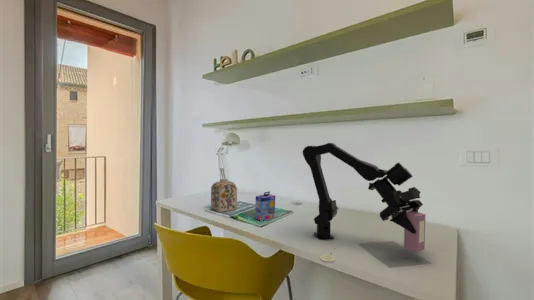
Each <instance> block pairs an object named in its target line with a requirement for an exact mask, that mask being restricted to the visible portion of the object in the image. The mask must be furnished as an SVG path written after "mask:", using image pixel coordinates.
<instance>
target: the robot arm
mask: <svg viewBox="0 0 534 300" xmlns="http://www.w3.org/2000/svg"><path fill="white" fill-rule="evenodd" d="M325 154H330V155H332V156H333V157H335V158H336V159H339V160H340V161H341V162H343V163H344V164H346V165H348V166H349V167H351V168H353V169H354V170H355V172H356V173H357V174H358V175H360V176H361V177H362V178H363V179H364V180H366V181H368V182H369V183H368V188H367V189H368V190H369V191H374V190H376V192H377V193H378V195H379V197H381V198H382V199H381V202H382V203H383V204H384V203H385V204H386V205H387V206H386V207H385V208H383V210H382V211H380V212H379V218H380V219H381V220H382V221H383V222H386V221H388V220H389V222H392V223H395V224H396V225H398V226H400V227H402V228H403V229H404V228H405V229H406V230H408V231H410V232H411V233H413V234H415V233H416V230H415V229H414V227H413V226H412V224H411V222H410V221H409V219H408V218H407V212H410V211H414V212H418V213H419V209H420V208H421V207H422V206H423V205H424V204H423V203H422V202H421V200H420V199H421V191H420V190H419V189H418V188H416V186H413V187H410V188H408V190H406V191H402V190H397V189H396V188H395V187H394V186H396V185H398V186H399V187H400V186H401V185H403V184H404V183H406V182H407V181H408V180H410V179H411V178H413V174H412V173H411V172H410V171H409V170H408V169H407V168H406V167H404V166H403V165H402V164H401V163H400V162H398V161H397V162H396V163H395V164H394V166H392V167H391V168H390V169H388V170H387V169H381V168H379V167H378V166H377V165H376V164H375V165H374V164H372V163H370V162H367V161H364V160H362V159H359V158H358V157H356V156H354V155H352V154H351V153H349V152H347V151H346V150H344V149H343V148H340V146H337V144H336V143H333V142H327V143H324V144H321V145H306V146H305V147H304V148H303V150H302V156H303V158H304V160H305V162H306V163H307V165H308V167H309V168H310V171H311V175H312V178H313V182H314V186H315V190H316V193H317V197H318V215H316V216H315V217H314V218H313V222H314V224H315V225H316V232H313V235H314V236H315V237H317V239H318V240H330V239H331V240H332V239H334V236H333V235H332V234H331V223H332V222H331V221H332V220H333V219H334V218H335V217H336V216H337V215H338V210H339V207H338V206H337V201H336V199H334V200H332V198H331V197H330V192H329V190H328V188H327V187H328V186H327V183H326V180H325V176H324V173H323V169H322V166H321V165H322V164H321V163H322V161H321V160H322V155H325ZM376 179H377V180H376ZM373 181H374V182H373ZM392 184H393V185H392ZM390 217H391V218H390ZM389 218H390V219H389Z"/></svg>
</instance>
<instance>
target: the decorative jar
mask: <svg viewBox="0 0 534 300" xmlns="http://www.w3.org/2000/svg"><path fill="white" fill-rule="evenodd" d="M237 189H238V187H237V186H236V184H235V182H233V181H229V179H228V178H220V179H219V181H216V182H214V183H212V185H211V187H210V209H212V210H214V211H216V212H219V213H222V212H223V213H225V212H230V211H235V210H234V209H236V210H237V209H238V190H237ZM229 210H230V211H229ZM224 211H225V212H224Z"/></svg>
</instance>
